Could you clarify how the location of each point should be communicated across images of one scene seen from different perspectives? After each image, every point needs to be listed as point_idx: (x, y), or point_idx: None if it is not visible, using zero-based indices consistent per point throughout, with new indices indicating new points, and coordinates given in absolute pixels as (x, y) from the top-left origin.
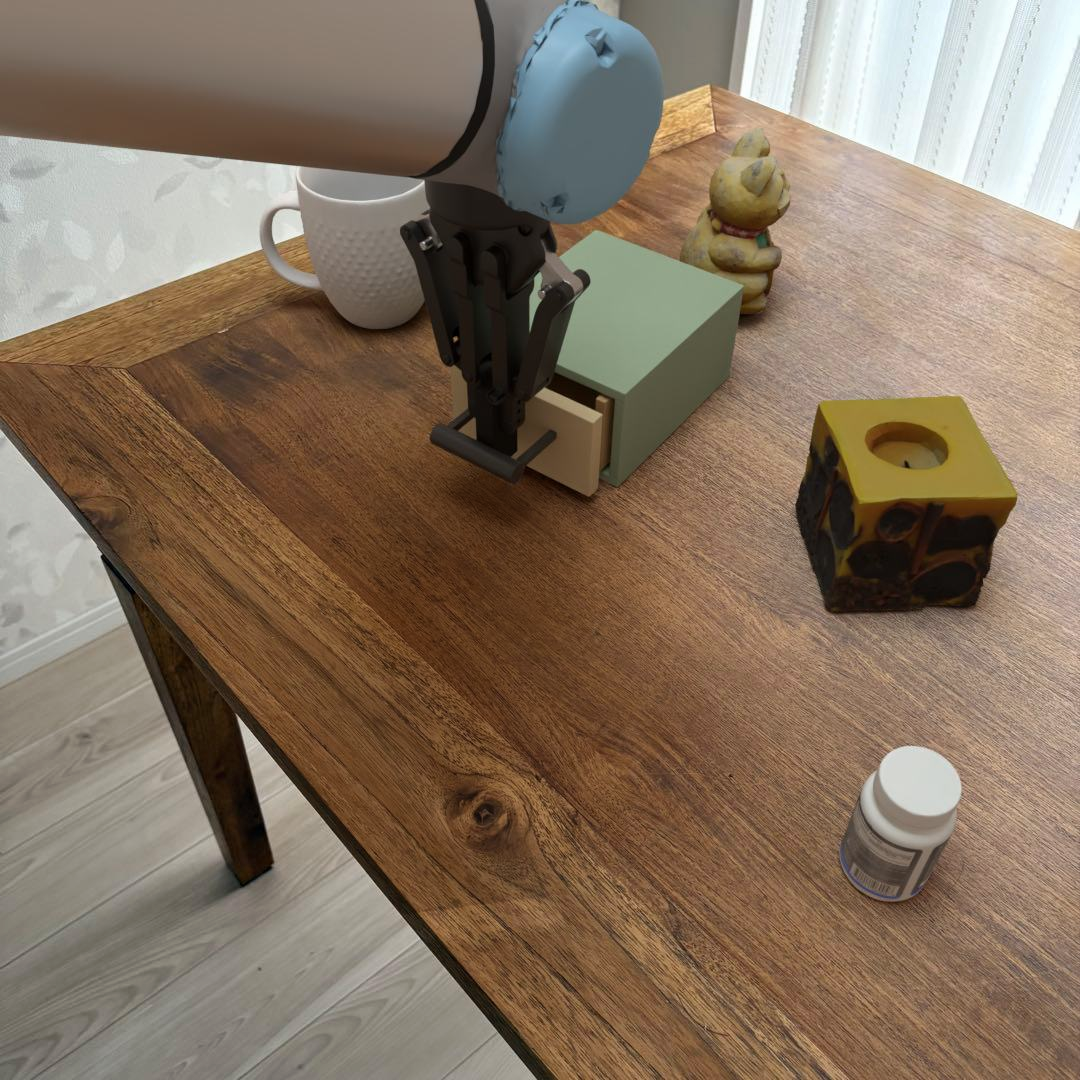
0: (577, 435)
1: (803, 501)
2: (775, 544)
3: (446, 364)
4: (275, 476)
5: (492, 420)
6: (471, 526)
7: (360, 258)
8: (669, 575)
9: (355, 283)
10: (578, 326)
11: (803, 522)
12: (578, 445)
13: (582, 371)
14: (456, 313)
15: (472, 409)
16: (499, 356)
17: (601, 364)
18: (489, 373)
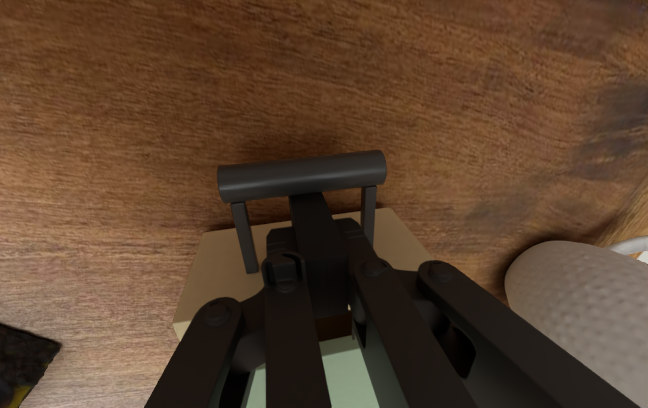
0: (209, 288)
1: (16, 366)
2: (26, 308)
3: (432, 262)
4: (528, 12)
5: (296, 227)
6: (277, 114)
7: (629, 307)
8: (46, 210)
9: (599, 276)
10: (332, 406)
11: (14, 345)
12: (209, 277)
13: (259, 375)
14: (504, 403)
15: (350, 225)
16: (294, 386)
17: (251, 395)
18: (350, 298)
